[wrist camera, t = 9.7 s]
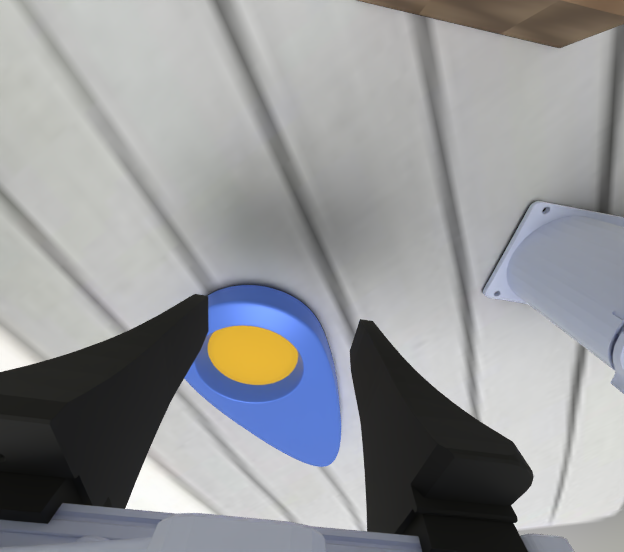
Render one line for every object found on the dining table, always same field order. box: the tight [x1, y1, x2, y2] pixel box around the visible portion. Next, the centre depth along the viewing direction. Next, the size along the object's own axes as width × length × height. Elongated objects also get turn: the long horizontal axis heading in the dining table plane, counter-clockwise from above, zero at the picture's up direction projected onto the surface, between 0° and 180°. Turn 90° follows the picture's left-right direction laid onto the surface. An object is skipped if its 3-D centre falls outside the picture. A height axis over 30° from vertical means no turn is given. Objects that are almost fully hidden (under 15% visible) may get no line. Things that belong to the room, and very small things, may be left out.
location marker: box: [184, 285, 341, 467], centre depth 27 cm, size 13×3×25 cm
